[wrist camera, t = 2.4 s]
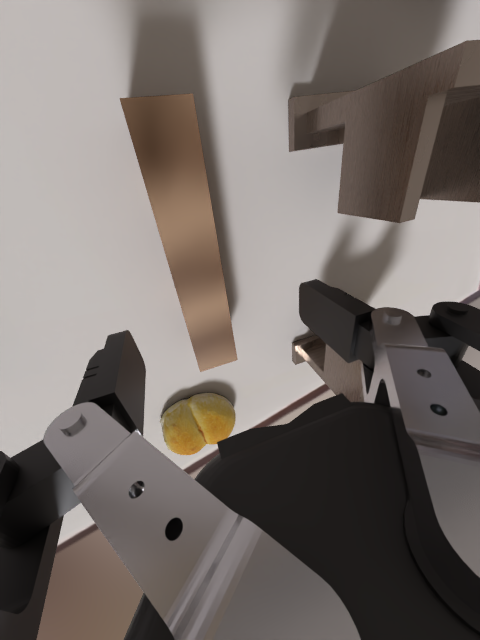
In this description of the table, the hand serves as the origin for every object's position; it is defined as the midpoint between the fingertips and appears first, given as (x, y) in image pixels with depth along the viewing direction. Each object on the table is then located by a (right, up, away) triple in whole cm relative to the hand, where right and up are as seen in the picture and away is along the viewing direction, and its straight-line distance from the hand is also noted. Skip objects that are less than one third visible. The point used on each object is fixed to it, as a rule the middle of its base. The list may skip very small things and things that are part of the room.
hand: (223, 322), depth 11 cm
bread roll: (-5, -12, +19) cm, 23 cm away
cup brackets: (+10, +6, +13) cm, 18 cm away
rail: (-4, +6, +9) cm, 11 cm away
